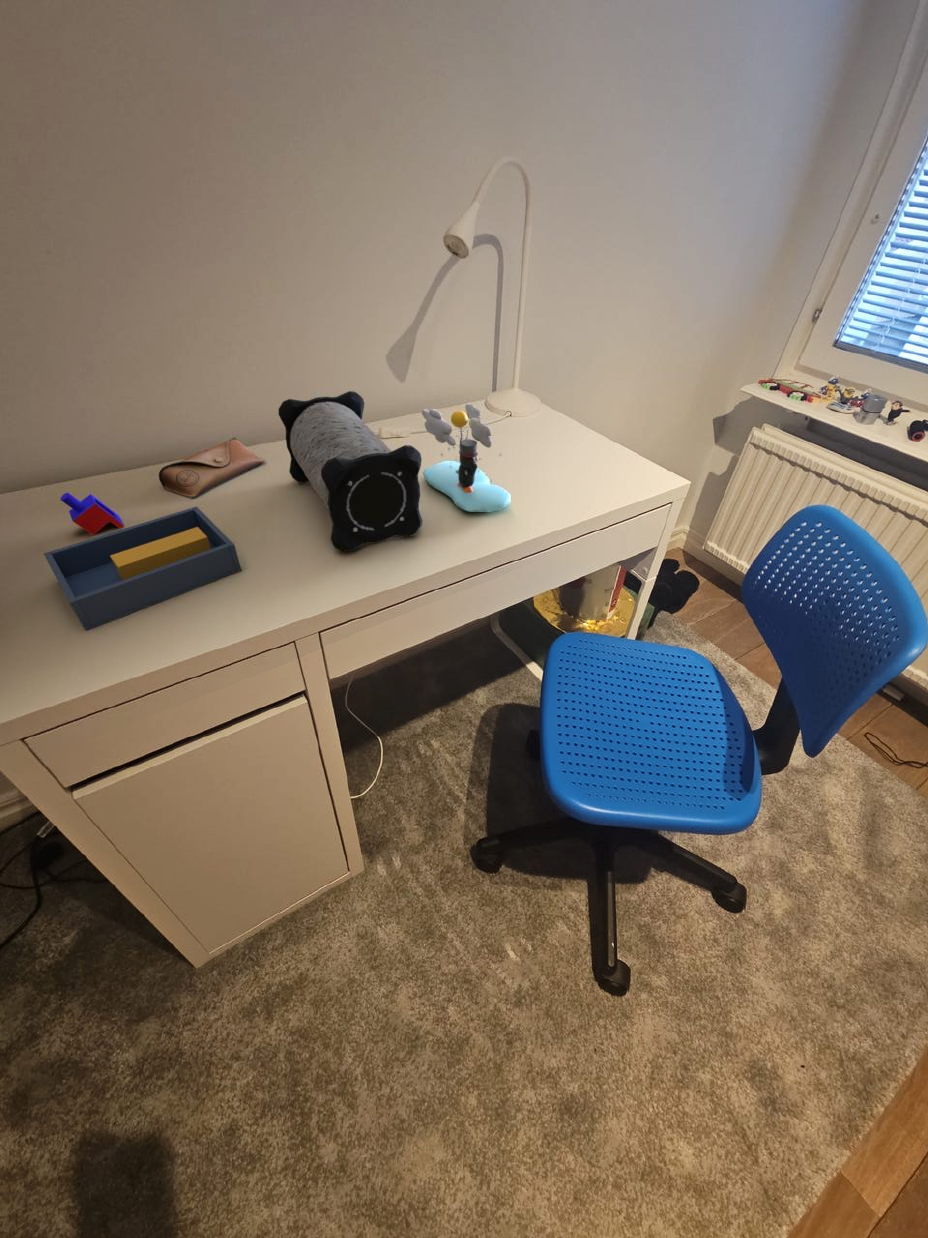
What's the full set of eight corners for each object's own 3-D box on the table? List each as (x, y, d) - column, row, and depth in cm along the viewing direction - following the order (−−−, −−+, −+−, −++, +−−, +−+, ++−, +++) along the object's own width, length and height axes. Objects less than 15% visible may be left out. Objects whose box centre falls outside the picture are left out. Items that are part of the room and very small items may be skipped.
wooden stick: (117, 567, 72) (207, 536, 78) (109, 555, 73) (197, 526, 80) (127, 587, 74) (213, 556, 80) (119, 575, 76) (204, 546, 82)
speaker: (366, 465, 106) (359, 386, 96) (427, 537, 87) (425, 448, 77) (289, 479, 100) (273, 397, 90) (336, 559, 81) (323, 466, 72)
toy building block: (98, 532, 88) (51, 498, 81) (119, 515, 88) (74, 480, 82) (102, 542, 86) (54, 508, 79) (123, 524, 86) (78, 490, 80)
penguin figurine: (519, 509, 95) (529, 424, 85) (467, 524, 90) (471, 436, 80) (462, 464, 108) (465, 386, 98) (414, 475, 103) (412, 394, 93)
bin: (85, 631, 68) (69, 602, 65) (58, 580, 75) (43, 553, 72) (242, 570, 79) (234, 544, 76) (205, 531, 86) (196, 505, 83)
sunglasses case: (194, 497, 93) (169, 461, 90) (176, 507, 97) (152, 473, 95) (269, 459, 105) (249, 427, 102) (250, 469, 110) (230, 438, 107)
